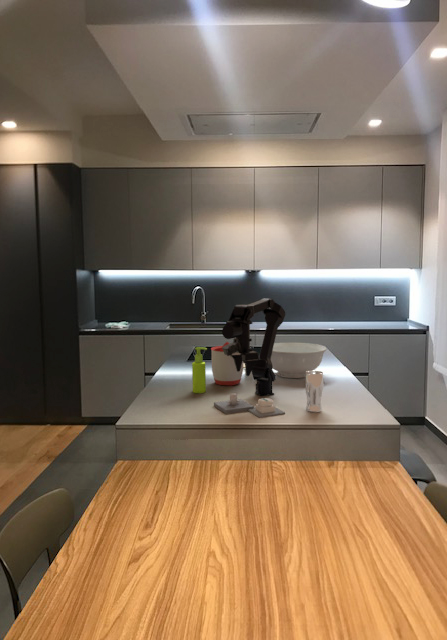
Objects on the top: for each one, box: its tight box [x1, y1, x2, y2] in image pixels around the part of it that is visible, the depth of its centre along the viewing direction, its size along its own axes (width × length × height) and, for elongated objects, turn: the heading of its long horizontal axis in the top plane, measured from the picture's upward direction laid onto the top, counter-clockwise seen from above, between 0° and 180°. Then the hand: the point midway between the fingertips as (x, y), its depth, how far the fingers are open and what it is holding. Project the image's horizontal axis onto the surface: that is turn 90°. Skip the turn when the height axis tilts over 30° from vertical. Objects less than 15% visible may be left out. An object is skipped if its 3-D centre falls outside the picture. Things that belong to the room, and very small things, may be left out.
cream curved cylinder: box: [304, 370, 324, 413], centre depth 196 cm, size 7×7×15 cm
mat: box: [247, 406, 286, 419], centre depth 196 cm, size 11×11×1 cm
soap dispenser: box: [191, 346, 208, 394], centre depth 227 cm, size 6×7×20 cm
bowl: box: [271, 342, 327, 379], centre depth 258 cm, size 32×32×15 cm
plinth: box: [213, 392, 255, 415], centre depth 201 cm, size 12×12×6 cm
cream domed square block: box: [255, 397, 276, 413], centre depth 196 cm, size 6×6×4 cm
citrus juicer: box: [210, 341, 244, 387], centre depth 243 cm, size 16×17×20 cm
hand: (243, 373), depth 208 cm, fingers open, 9 cm apart
